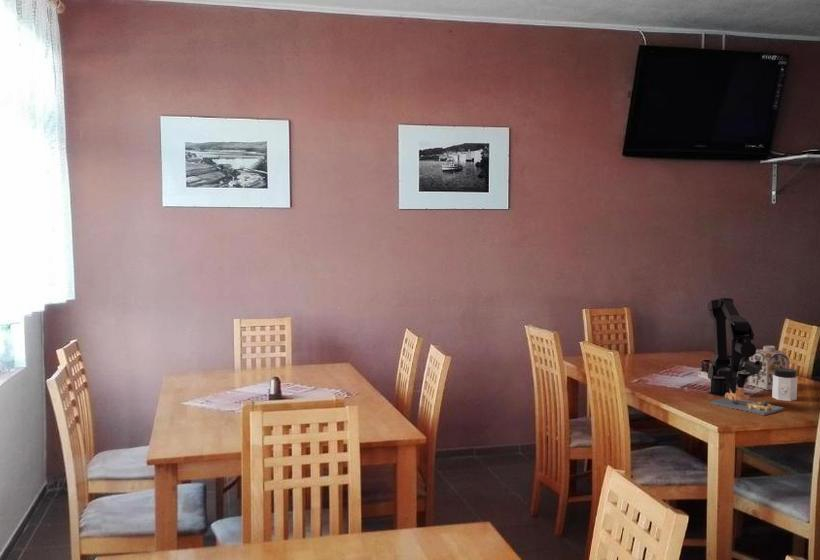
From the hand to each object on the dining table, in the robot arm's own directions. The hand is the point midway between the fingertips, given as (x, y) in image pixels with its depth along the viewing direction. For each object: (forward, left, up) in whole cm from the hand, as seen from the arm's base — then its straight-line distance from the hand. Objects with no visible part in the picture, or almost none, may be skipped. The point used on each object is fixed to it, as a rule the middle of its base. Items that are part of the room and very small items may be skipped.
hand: (737, 392), depth 290 cm
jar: (+5, +27, -5) cm, 28 cm away
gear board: (+4, +1, -5) cm, 6 cm away
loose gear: (0, 0, -2) cm, 2 cm away
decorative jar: (-11, +43, -6) cm, 45 cm away
